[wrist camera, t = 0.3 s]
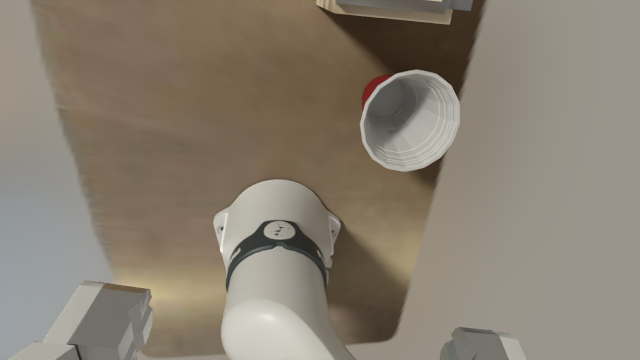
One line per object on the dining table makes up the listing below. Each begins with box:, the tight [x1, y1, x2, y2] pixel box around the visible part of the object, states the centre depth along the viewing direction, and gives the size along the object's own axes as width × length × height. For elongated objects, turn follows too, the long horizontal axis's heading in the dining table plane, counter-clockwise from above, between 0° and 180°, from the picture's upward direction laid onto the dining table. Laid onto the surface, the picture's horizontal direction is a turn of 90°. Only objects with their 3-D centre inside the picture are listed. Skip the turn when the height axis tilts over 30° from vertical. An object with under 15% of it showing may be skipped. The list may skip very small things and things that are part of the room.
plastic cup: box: [360, 69, 460, 172], centre depth 44 cm, size 11×11×12 cm
